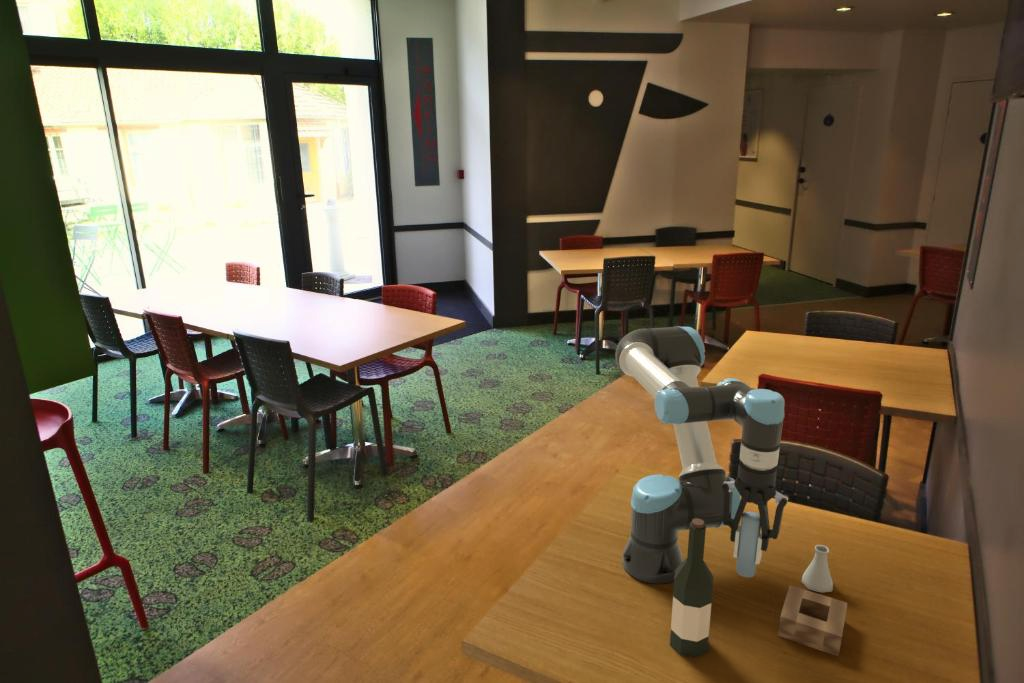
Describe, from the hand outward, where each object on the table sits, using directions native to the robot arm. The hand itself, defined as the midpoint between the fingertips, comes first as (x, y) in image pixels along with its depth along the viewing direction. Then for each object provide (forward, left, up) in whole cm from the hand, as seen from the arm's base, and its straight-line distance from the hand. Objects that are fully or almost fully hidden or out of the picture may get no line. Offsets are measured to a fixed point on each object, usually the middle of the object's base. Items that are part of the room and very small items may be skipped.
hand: (747, 557), depth 142 cm
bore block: (+14, +4, -16) cm, 21 cm away
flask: (+13, +21, -16) cm, 29 cm away
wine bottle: (-8, -14, -16) cm, 23 cm away
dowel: (0, 0, -4) cm, 4 cm away
